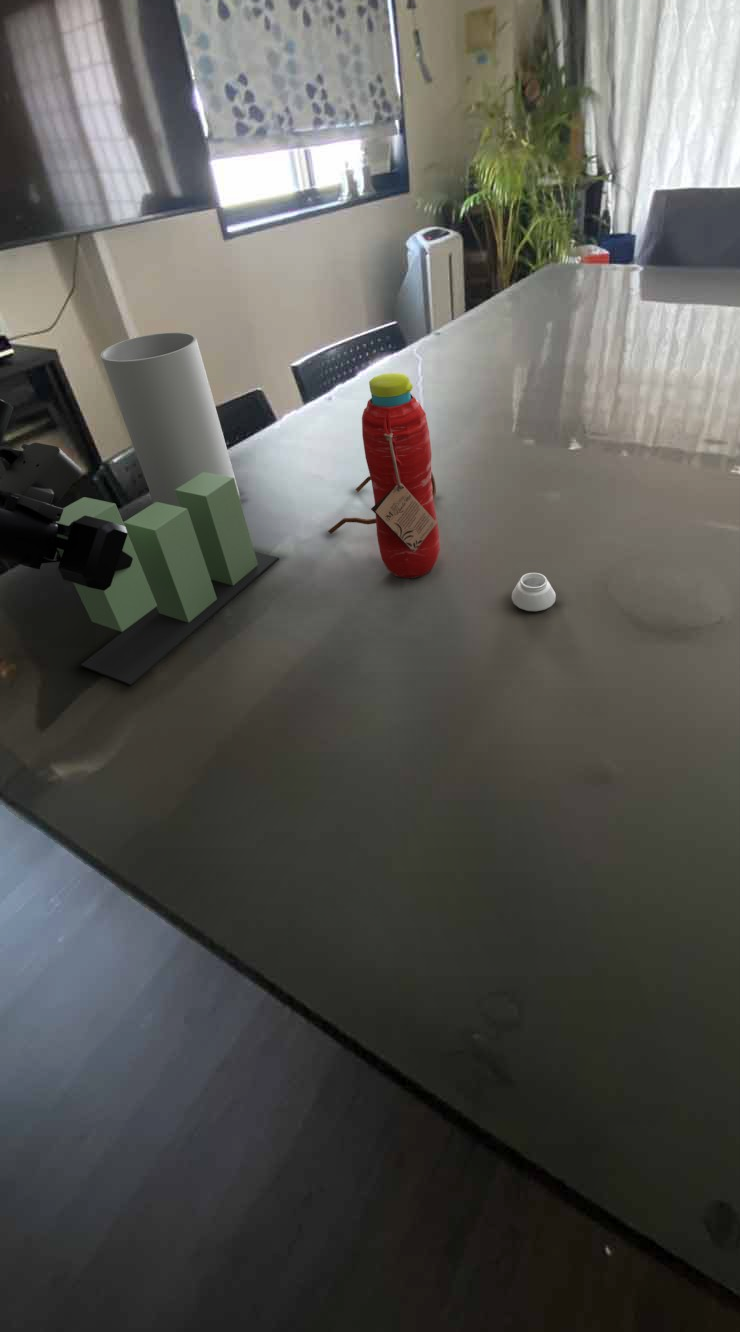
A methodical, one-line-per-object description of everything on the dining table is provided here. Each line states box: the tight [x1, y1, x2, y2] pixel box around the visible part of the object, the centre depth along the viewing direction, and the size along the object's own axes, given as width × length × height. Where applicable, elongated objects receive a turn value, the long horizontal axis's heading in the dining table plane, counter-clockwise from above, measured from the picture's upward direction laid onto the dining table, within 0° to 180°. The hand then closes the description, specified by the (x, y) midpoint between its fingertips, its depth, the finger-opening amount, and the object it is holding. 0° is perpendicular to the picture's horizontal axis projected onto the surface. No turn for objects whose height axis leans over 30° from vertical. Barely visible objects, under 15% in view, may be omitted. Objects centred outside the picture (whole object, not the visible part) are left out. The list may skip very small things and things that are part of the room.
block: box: [56, 496, 157, 633], centre depth 72 cm, size 5×5×13 cm
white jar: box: [511, 572, 557, 612], centre depth 79 cm, size 5×3×5 cm
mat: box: [80, 551, 280, 687], centre depth 84 cm, size 26×8×1 cm, turn 153°
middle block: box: [123, 502, 217, 623], centre depth 81 cm, size 5×5×13 cm
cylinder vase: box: [100, 331, 240, 507], centre depth 99 cm, size 12×12×25 cm
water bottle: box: [361, 372, 441, 579], centre depth 79 cm, size 12×8×25 cm, turn 176°
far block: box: [175, 472, 258, 585], centre depth 86 cm, size 5×5×13 cm
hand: (113, 557), depth 73 cm, fingers closed on block, 5 cm apart
